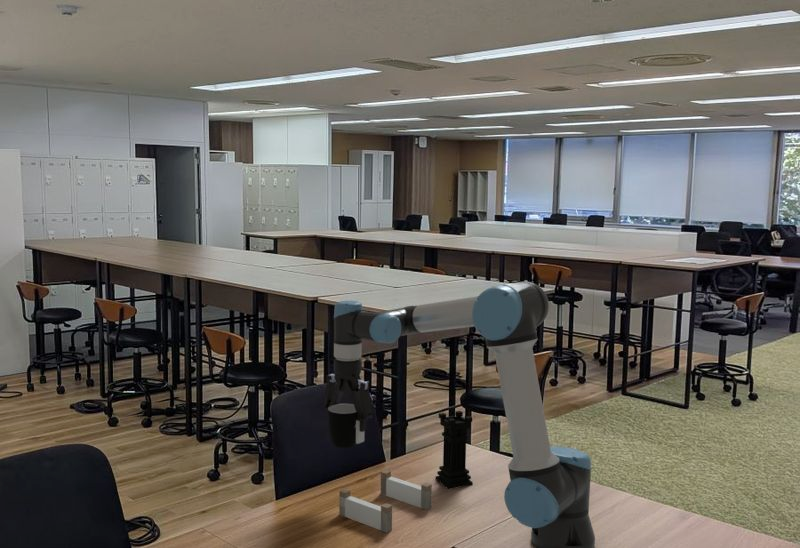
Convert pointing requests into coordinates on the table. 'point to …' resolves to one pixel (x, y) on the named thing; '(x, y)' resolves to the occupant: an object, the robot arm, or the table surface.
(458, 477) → the chess piece
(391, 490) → the chute
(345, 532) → the table surface
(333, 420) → the mug
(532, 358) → the robot arm
